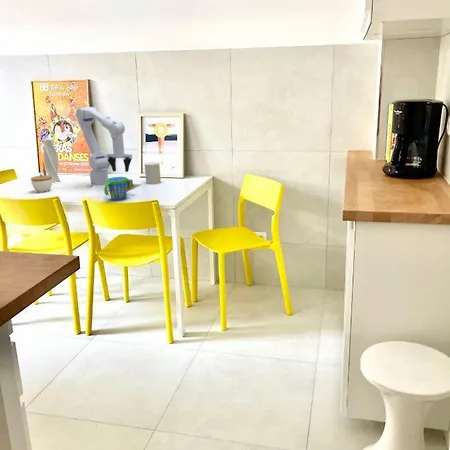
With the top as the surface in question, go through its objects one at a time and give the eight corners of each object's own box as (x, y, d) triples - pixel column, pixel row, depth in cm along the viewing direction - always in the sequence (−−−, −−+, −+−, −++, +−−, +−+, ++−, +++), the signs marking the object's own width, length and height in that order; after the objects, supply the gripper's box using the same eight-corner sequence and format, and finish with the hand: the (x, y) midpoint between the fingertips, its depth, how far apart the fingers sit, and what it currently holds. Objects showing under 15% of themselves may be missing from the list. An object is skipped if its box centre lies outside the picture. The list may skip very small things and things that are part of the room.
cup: (158, 186, 271) (156, 164, 267) (144, 186, 272) (142, 164, 269) (162, 183, 278) (161, 162, 275) (149, 183, 280) (147, 162, 276)
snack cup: (112, 203, 237) (110, 182, 234) (99, 200, 244) (97, 180, 241) (137, 196, 248) (135, 177, 245) (125, 194, 255) (123, 175, 252)
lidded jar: (57, 189, 273) (55, 172, 270) (44, 193, 264) (42, 176, 261) (41, 188, 277) (39, 172, 274) (28, 192, 267) (26, 175, 264)
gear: (122, 187, 264) (121, 181, 263) (123, 185, 270) (122, 179, 269) (132, 187, 265) (131, 181, 264) (133, 185, 270) (132, 178, 269)
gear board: (106, 193, 258) (105, 185, 257) (122, 185, 275) (121, 178, 274) (126, 194, 255) (126, 186, 254) (142, 186, 271) (141, 179, 270)
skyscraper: (57, 180, 297) (50, 133, 289) (63, 182, 292) (57, 134, 284) (44, 182, 291) (37, 135, 283) (50, 184, 286) (43, 136, 278)
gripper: (102, 147, 260) (105, 172, 264) (126, 147, 255) (129, 173, 260) (109, 145, 266) (111, 169, 270) (133, 145, 262) (135, 170, 266)
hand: (120, 171), depth 265 cm, fingers open, 7 cm apart
